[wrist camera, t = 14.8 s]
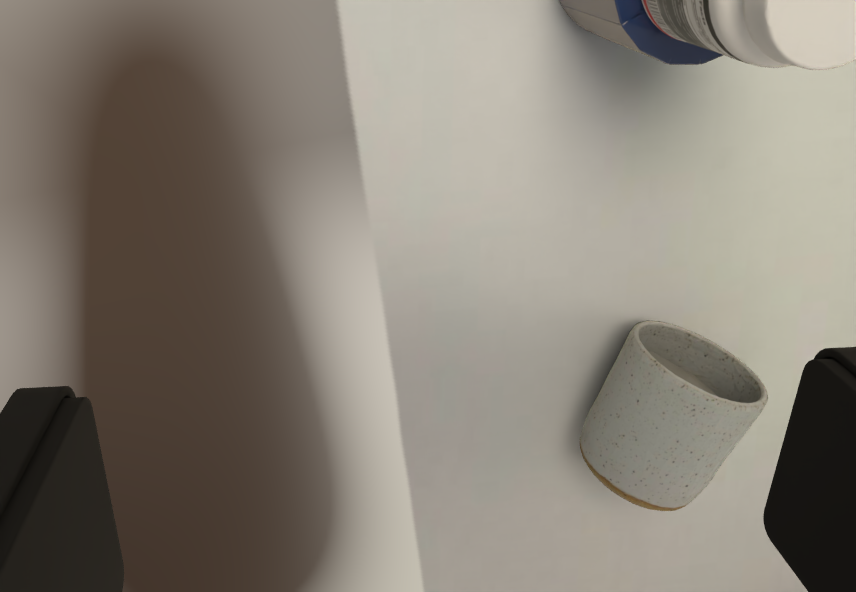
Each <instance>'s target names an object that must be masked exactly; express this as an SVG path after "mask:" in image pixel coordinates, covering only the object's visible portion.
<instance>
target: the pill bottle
mask: <svg viewBox="0 0 856 592" xmlns="http://www.w3.org/2000/svg"><path fill="white" fill-rule="evenodd" d="M642 3H643V6H644V9H645V11H646V13H647V15H648V17H649V18H650V19H651V21H652V22H653V23H654V25H655V26H656V27H657V28H658V29H660V30H661V31H662V32H664V33H665V34H667V35H668V36H670V37H672V38H674V39H677V40H680V41H684V42H687V43H690V44H694V45H696V46H699V47H702V48H705V49H708V50H711V51H714V52H717V53H720V54H723V55H725V56H728V57H731V58H734V59H736V60H739V61H742V62H745V63H748V64H752V65H756V66H761V67H768V68H779V67H787V66H797V67H801V68H805V69H810V70H826V69H832V68H836V67H840V66H842V65H845V64H847V63H850V62H852V61H854V60H856V0H642Z"/></svg>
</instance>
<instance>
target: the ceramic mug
mask: <svg viewBox="0 0 856 592" xmlns="http://www.w3.org/2000/svg"><path fill="white" fill-rule="evenodd" d="M767 400H768V395H767V391H766V389H765V386H764V385H763V383H762V382H761V380H760V379H759V378H758V376H757V375H756V374H755V373H754V372H753V371H752V370H751V369H750V368H748V367H747V366H746V365H745V364H744V363H743V362H741V361H740V360H739V359H738V358H736V357H735V356H734V355H732V354H731V353H729V352H728V351H726V350H725V349H723V348H722V347H720V346H719V345H717V344H715V343H713V342H711V341H710V340H708V339H706V338H704V337H702V336H700V335H698V334H696V333H693V332H690V331H688V330H685V329H683V328H681V327H678V326H675V325H671V324H667V323H662V322H657V321H644V322H639V323H638V324H636V325H635V326H634V327H633V329H632V330H631V331H630V333H629V335H628V337H627V339H626V341H625V343H624V345H623V347H622V349H621V351H620V353H619V355H618V357H617V359H616V361H615V363H614V365H613V367H612V369H611V371H610V372H609V374H608V376H607V378H606V380H605V382H604V384H603V386H602V388H601V390H600V392H599V394H598V396H597V398H596V400H595V402H594V404H593V405H592V407H591V409H590V411H589V413H588V415H587V417H586V420H585V423H584V426H583V429H582V433H581V437H580V449H581V453H582V455H583V458H584V460H585V462H586V464H587V465H588V467H589V468H590V470H591V471H592V472H593V474H594V475H595V476H596V477H597V478H598V479H599V480H600V481H601V482H602V483H603V484H604V485H605V486H606V487H607V488H609V489H610V490H611V491H613V492H614V493H616V494H617V495H619V496H621V497H622V498H624V499H626V500H627V501H629V502H631V503H633V504H636V505H639V506H641V507H644V508H648V509H652V510H660V511H674V510H677V509H680V508H682V507H685V506H686V505H687V504H689V503H690V502H691V501H692V500H693V499H694V498H695V497H696V496H697V495H698V494H699V493H700V492H701V491H702V490H703V489H704V488H705V487H706V486H707V485H708V484H709V482H710V481H711V480H712V478H713V477H714V475H715V473H716V472H717V470H718V469H719V467H720V466H721V464H722V463H723V461H724V460H725V459H726V458H727V456H728V455H729V454H730V453H731V451H732V450H733V449H734V447H735V446H736V445H737V443H738V442H739V441H740V439H741V438H742V437H743V435H744V434H745V433H746V431H747V430H748V429H749V427H750V426H751V425H752V423H753V422H754V421H755V420H756V418H757V417H758V416H759V414H760V413H761V411H762V410H763V408H764V406H765V405H766V403H767Z"/></svg>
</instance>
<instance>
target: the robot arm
mask: <svg viewBox="0 0 856 592" xmlns="http://www.w3.org/2000/svg"><path fill="white" fill-rule="evenodd" d="M764 525H765V530H766V532H767V535H768V537H769V538H770V540H771V542H772V543H773V544H774V546H775V547H776V548H777V550H778V551H779V553H780V554H781V555H782V557H783V558H784V559H785V561H786V562H787V563H788V565H789V566H790V567H791V569H792V570H793V571H794V573H795V574H796V576H797V577H798V578H799V580H800V581H801V582H802V584H803V585H804V586H805V588H806V589H807V590H808V592H856V347H846V348H826V349H823V350H821V351H819V353H818V354H817V355H816V356H815V358H814V360H811V361H809V362H808V363H807V364H806V365H805V367H804V370H803V373H802V376H801V380H800V384H799V387H798V391H797V394H796V398H795V402H794V405H793V409H792V412H791V416H790V420H789V423H788V427H787V430H786V434H785V438H784V441H783V445H782V448H781V452H780V456H779V459H778V463H777V466H776V470H775V474H774V477H773V481H772V484H771V488H770V492H769V495H768V499H767V502H766V506H765V510H764ZM123 581H124V567H123V560H122V554H121V549H120V544H119V539H118V534H117V529H116V525H115V519H114V514H113V509H112V504H111V499H110V494H109V489H108V484H107V479H106V474H105V470H104V464H103V459H102V454H101V449H100V444H99V439H98V434H97V429H96V424H95V419H94V414H93V409H92V405H91V402H90V400H89V399H88V398H87V397H80V398H79V397H78V398H76V397H75V394H74V392H73V390H72V389H71V388H70V387H69V386H60V387H41V388H21V389H17V390H16V391H15V392H14V393H13V394H12V396H11V397H10V399H9V400H8V402H7V404H6V405H5V407H4V408H3V410H2V412H1V413H0V592H122V588H123Z"/></svg>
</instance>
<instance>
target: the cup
mask: <svg viewBox="0 0 856 592" xmlns="http://www.w3.org/2000/svg"><path fill="white" fill-rule="evenodd" d="M559 2H560V4H561V6H562V8H563V9H564V10H565V12H566V13H567V15H568V16H569V17H570V18H571V19H572V20H573V21H574V22H575V23H576V24H578V25H579V26H580V27H582V28H583V29H585V30H587V31H589V32H592V33H594V34H596V35H598V36H600V37H602V38H604V39H607V40H609V41H612V42H614V43H617V44H619V45H622V46H624V47H626V48H629V49H631V50H634V51H636V52H639V53H641V54H644V55H646V56H649V57H651V58H653V59H656V60H658V61H661V62H663V63H666V64H670V65H698V64H704V63H706V62H708V61H711V60H713V59H716V58H718V57H720V56H723V54H720V53H717V52H714V51H711V50H708V49H705V48H702V47H699V46H696V45H694V44H690V43H687V42H684V41H680V40H677V39H674V38H672V37H670V36H668V35H667V34H665V33H664V32H662V31H661V30H660V29H658V28H657V27H656V26H655V25H654V23H653V22H652V21H651V19H650V18H649V17H648V15H647V13H646V11H645V9H644V6H643V3H642V0H559Z"/></svg>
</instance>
